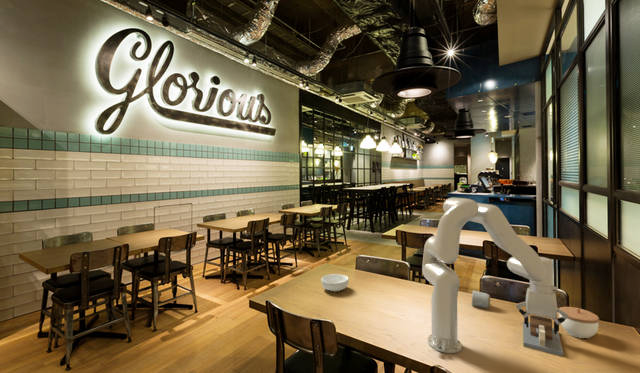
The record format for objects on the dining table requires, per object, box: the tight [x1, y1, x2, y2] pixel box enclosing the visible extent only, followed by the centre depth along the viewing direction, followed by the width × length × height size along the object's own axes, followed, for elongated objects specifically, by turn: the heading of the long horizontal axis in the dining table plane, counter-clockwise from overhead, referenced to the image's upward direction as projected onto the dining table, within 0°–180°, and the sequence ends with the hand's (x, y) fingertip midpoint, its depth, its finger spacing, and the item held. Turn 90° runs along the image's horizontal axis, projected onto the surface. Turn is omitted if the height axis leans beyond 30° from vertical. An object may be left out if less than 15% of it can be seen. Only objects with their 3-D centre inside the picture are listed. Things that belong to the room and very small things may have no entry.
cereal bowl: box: [320, 273, 349, 293], centre depth 173 cm, size 17×17×7 cm
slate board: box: [522, 321, 564, 357], centre depth 117 cm, size 20×12×2 cm, turn 145°
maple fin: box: [536, 315, 545, 347], centre depth 116 cm, size 18×2×6 cm, turn 145°
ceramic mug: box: [471, 289, 491, 309], centre depth 148 cm, size 11×8×8 cm
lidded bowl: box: [558, 306, 600, 339], centre depth 120 cm, size 13×13×11 cm
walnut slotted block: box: [529, 314, 553, 340], centre depth 116 cm, size 4×7×7 cm, turn 55°
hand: (541, 329), depth 116 cm, fingers open, 8 cm apart
